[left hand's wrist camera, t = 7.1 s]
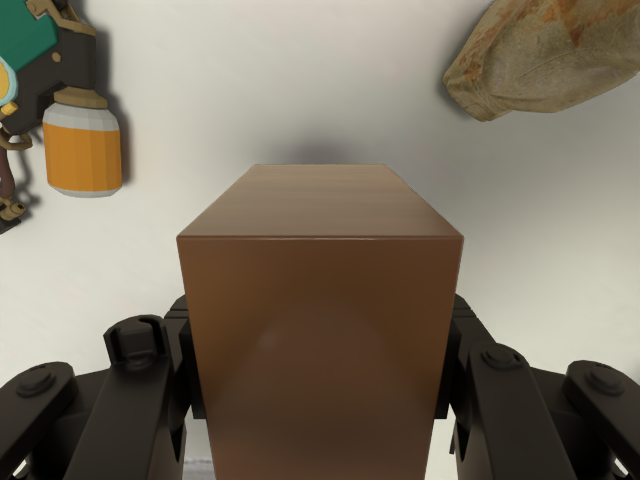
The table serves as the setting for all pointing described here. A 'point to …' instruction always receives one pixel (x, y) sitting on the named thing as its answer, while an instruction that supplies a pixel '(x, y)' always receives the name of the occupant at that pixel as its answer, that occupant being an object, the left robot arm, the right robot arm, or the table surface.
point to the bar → (320, 322)
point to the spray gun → (65, 114)
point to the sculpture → (545, 55)
